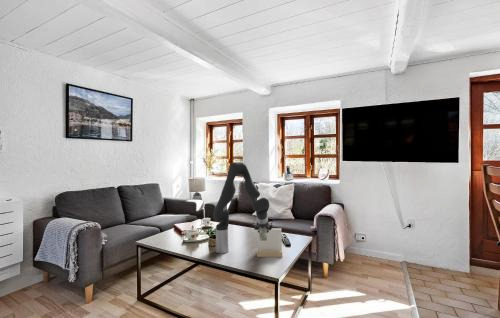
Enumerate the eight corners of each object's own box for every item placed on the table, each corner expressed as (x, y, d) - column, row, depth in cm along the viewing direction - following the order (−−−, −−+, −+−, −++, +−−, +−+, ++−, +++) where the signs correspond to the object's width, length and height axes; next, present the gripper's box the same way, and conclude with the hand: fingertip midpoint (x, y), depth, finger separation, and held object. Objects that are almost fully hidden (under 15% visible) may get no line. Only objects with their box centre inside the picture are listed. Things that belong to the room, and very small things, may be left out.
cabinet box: (259, 240, 176) (259, 224, 176) (260, 239, 179) (259, 223, 180) (266, 240, 176) (266, 224, 176) (267, 239, 179) (266, 223, 179)
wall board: (256, 256, 180) (256, 231, 180) (257, 252, 188) (257, 228, 188) (282, 257, 178) (281, 231, 178) (281, 252, 186) (281, 228, 186)
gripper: (272, 214, 170) (273, 227, 182) (251, 214, 171) (253, 227, 183) (273, 224, 164) (273, 236, 176) (251, 223, 166) (253, 236, 178)
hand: (263, 231), depth 180 cm, fingers closed on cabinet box, 5 cm apart
